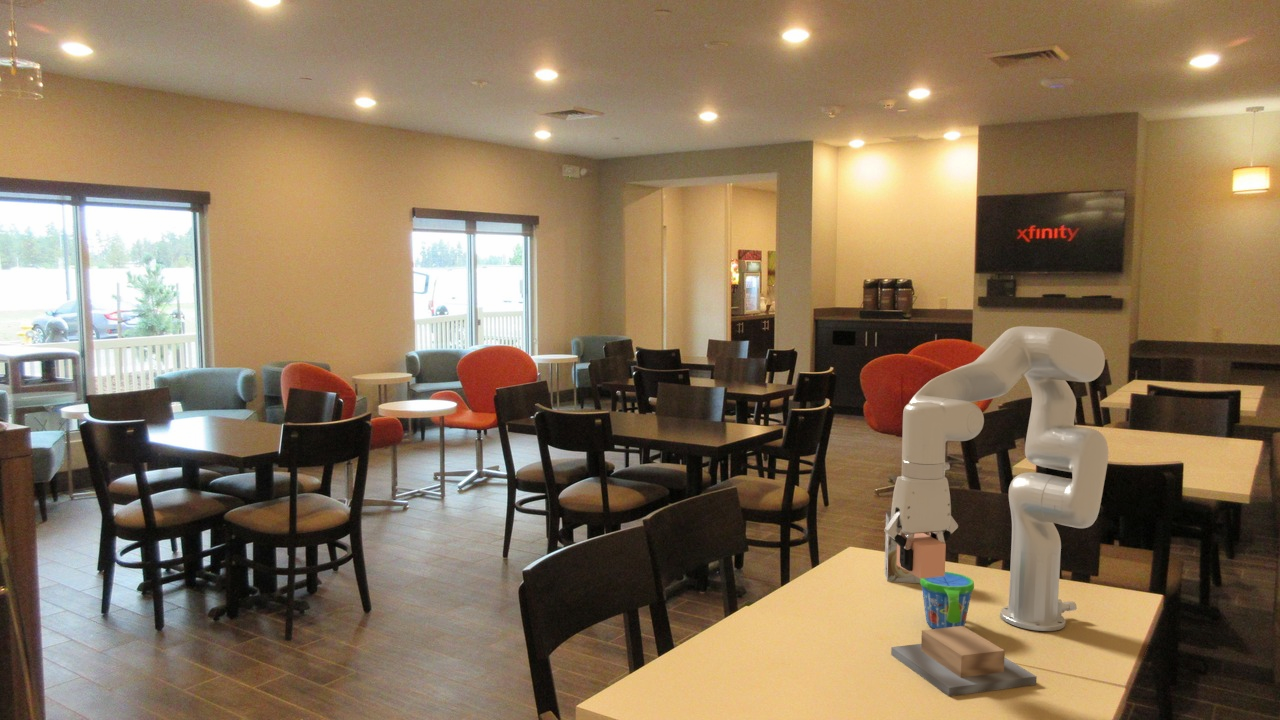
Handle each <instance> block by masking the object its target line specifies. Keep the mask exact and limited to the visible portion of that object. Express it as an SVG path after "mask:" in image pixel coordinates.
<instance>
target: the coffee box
mask: <svg viewBox="0 0 1280 720" xmlns="http://www.w3.org/2000/svg"><path fill="white" fill-rule="evenodd" d="M890 520H891V510H885V527H886V526H887V525H888V523H889V522H890ZM900 530H901V528H897V529H896V532H897V533H898V534H900ZM924 534H926V535H928V533H924ZM884 537H885V538H884V539H885V542H884V546H885V547H884V577H885V579H886V581H887V582H888V581H890V582H889V583H891V582H892V583H906V584H907V583H908V584H912V583H913V584H920V578H918V577H917V576H915V575H913V574H911V573H910V572H908V571H906V570H904V569H903V568H901V567H899V566H897V565H896V562H897V543H896V542H895V541H894V540H893V539H892V537H890V536H889V535H888V534H886V533H885V536H884Z"/></svg>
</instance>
